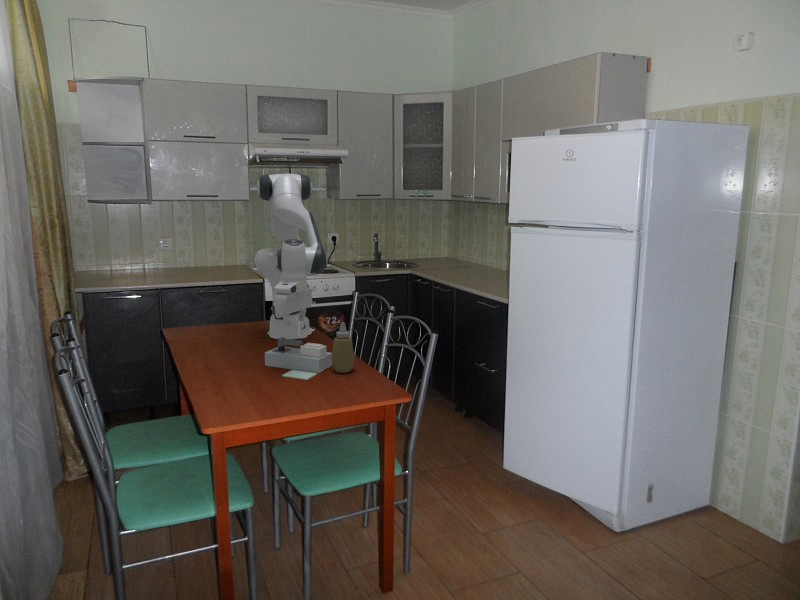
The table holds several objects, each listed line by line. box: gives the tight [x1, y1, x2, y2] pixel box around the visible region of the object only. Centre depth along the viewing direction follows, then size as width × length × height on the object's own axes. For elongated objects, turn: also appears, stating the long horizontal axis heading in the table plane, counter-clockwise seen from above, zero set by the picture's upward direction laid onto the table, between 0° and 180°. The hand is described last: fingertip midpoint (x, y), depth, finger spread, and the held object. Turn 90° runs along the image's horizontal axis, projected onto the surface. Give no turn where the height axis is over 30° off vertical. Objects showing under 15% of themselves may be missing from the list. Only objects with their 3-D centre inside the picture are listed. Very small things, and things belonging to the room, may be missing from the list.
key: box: [277, 337, 303, 350], centre depth 225 cm, size 2×10×4 cm, turn 69°
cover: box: [299, 342, 327, 357], centre depth 222 cm, size 5×8×4 cm, turn 69°
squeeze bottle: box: [331, 321, 355, 374], centre depth 218 cm, size 8×8×18 cm
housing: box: [264, 346, 333, 374], centre depth 225 cm, size 10×22×5 cm, turn 69°
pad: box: [281, 369, 318, 381], centre depth 214 cm, size 7×10×1 cm
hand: (294, 323), depth 220 cm, fingers open, 8 cm apart
